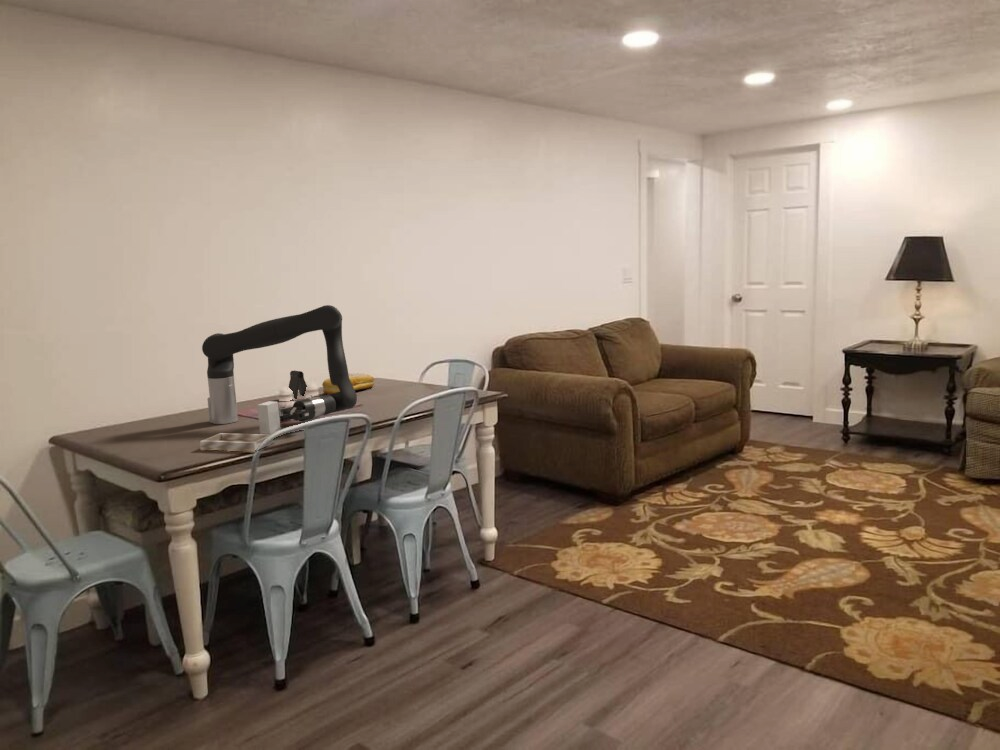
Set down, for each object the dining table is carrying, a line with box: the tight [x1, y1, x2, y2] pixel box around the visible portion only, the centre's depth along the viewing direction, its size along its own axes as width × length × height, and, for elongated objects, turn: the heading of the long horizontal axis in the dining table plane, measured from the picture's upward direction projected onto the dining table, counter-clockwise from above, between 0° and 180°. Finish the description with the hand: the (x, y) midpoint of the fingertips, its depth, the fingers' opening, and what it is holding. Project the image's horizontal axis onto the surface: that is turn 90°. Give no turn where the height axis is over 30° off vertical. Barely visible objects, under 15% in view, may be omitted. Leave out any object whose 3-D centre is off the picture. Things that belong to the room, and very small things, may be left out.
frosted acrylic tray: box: [199, 432, 270, 453], centre depth 244 cm, size 20×11×3 cm, turn 75°
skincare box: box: [256, 400, 281, 435], centre depth 254 cm, size 6×4×12 cm
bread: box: [321, 372, 375, 395], centre depth 336 cm, size 13×26×8 cm, turn 153°
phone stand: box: [288, 369, 308, 399], centre depth 323 cm, size 9×6×12 cm, turn 136°
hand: (272, 417), depth 255 cm, fingers open, 8 cm apart
